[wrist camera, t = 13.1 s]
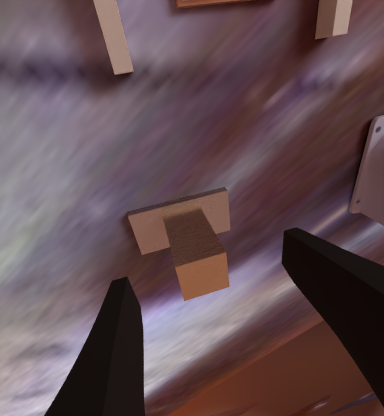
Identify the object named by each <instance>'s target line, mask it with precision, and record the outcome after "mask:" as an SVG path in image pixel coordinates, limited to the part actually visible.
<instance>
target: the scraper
mask: <svg viewBox="0 0 384 416" xmlns="http://www.w3.org/2000/svg"><path fill="white" fill-rule="evenodd" d="M128 218H129V221H130V224H131V226H132V229H133V232H134V235H135V237H136V240H137V243H138V246H139V248H140V251H141V254H142V255H144V254H147V253H151V252H154V251H158V250H161V249H165V248H168V247H170V248H171V252H172V256H173V260H174V264H175V268H176V272H177V275H178V279H179V283H180V286H181V290H182V294H183V298H184V301H186V300H189V299H192V298H195V297H198V296H202V295H205V294H208V293H211V292H214V291H217V290H221V289H224V288H227V287H229V277H228V267H227V257H226V251H225V250H224V248H223V246H222V244H221V243H220V241H219V239H218V237H217V235H216V234H218V233H221V232H225V231H228V230H230V217H229V205H228V192H227V189H226V188H225V187H222V188H218V189H214V190H211V191H207V192H203V193H199V194H195V195H191V196H187V197H183V198H179V199H175V200H171V201H167V202H164V203H160V204H156V205H152V206H148V207H144V208H140V209H136V210H132V211H128Z"/></svg>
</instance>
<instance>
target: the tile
mask: <svg viewBox="0 0 384 416" xmlns="http://www.w3.org/2000/svg"><path fill="white" fill-rule="evenodd" d="M244 1H254V0H176V6H177V9H179V8H189V7H198V6H207V5H216V4H226V3H235V2H244Z"/></svg>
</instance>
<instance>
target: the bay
mask: <svg viewBox="0 0 384 416" xmlns="http://www.w3.org/2000/svg"><path fill="white" fill-rule="evenodd" d="M93 1H94V4H95V8H96V11H97V15H98V18H99V22H100V25H101V29H102V32H103V36H104V39H105V42H106V46H107V49H108V53H109V56H110V60H111V63H112V67H113V70H114V74H115V75H118V74H124V73H129V72H133V67H132V63H131V59H130V55H129V51H128V46H127V42H126V38H125V34H124V30H123V26H122V22H121V18H120V14H119V10H118V6H117V2H116V0H93ZM352 1H353V0H319V7H318V16H317V25H316V35H315V39H321V38H327V37H332V36H337V35H341V34H346V33H347V30H348V24H349V18H350V12H351V7H352Z"/></svg>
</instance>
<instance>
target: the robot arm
mask: <svg viewBox="0 0 384 416" xmlns="http://www.w3.org/2000/svg"><path fill="white" fill-rule="evenodd" d="M349 212H350V213H352V214H355V213H359V212H360V213H362V214H364V215H366V216H367V217H369V218H371V219H373V220H374V221H376V222H378V223H380V224H381V225H383V226H384V115H382V116H378V117H375V118H374V119H373V120H372V122H371V125H370V129H369V133H368V137H367V141H366V145H365V149H364V153H363V157H362V160H361V164H360V168H359V172H358V176H357V180H356V184H355V188H354V192H353V196H352V200H351V204H350V208H349ZM282 264H283V266H284V268H285V269H286V271H287V273H288V274H289V276H290V277H291V279H292V280H293V282H294V283H295V284H296V286H297V287H298V288H299V289H300V291H301V292H302V293H303V294H304V296H305V297H306V298H307V299H308V300H309V302H310V303H311V304H312V305H313V307H314V308H315V309H316V310H317V311H318V313H319V314H320V315H321V316H322V317H323V319H324V320H325V321H326V322H327V323H328V325H329V326H330V327H331V329H332V330H333V331H334V333H335V334H336V335H337V336H338V338H339V339H340V341H341V342H342V344H343V345H344V347H345V348H346V350H347V351H348V352H349V354H350V355H351V357H352V358H353V360H354V361H355V363H356V364H357V366H358V367H359V369H360V371H361V372H362V374H363V375H364V377H365V378H366V380H367V381H368V383H369V384H370V386H371V388H372V389H373V391H374V392H375V394H376V396H377V397H378V399H379V400H380V402H381V403H382V405H383V407H384V266H382V265H380V264H377V263H375V262H373V261H370V260H368V259H365V258H363V257H360V256H358V255H356V254H353V253H351V252H349V251H347V250H344V249H342V248H340V247H338V246H336V245H333V244H331V243H329V242H327V241H325V240H323V239H321V238H319V237H316V236H314V235H312V234H310V233H308V232H306V231H303V230H301V229H299V228H292V229H289V230H286V231H284V239H283V251H282ZM44 416H145V409H144V347H143V323H142V315H141V307H140V304H139V302H138V300H137V298H136V295H135V293H134V291H133V289H132V286H131V284H130V282H129V280H128V277H124V278H120V279H117V280H113V281H112V282H111V284H110V287H109V289H108V292H107V294H106V297H105V299H104V302H103V304H102V307H101V309H100V311H99V314H98V316H97V318H96V320H95V323H94V325H93V327H92V329H91V331H90V334H89V336H88V338H87V340H86V342H85V344H84V346H83V348H82V350H81V352H80V354H79V356H78V358H77V360H76V362H75V364H74V365H73V367H72V369H71V371H70V373H69V375H68V376H67V378H66V380H65V382H64V384H63V385H62V387H61V389H60V390H59V392H58V394H57V396H56V397H55V399H54V401H53V402H52V404H51V406H50V407H49V409H48V410H47V412H46V414H45V415H44Z"/></svg>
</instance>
